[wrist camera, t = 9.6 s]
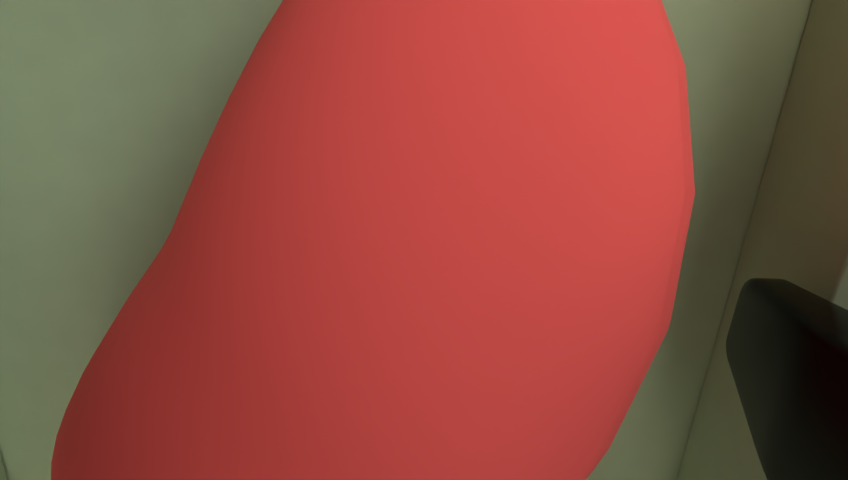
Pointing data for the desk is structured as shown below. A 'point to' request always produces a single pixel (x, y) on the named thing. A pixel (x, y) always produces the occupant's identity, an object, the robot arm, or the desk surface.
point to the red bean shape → (408, 253)
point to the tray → (201, 109)
